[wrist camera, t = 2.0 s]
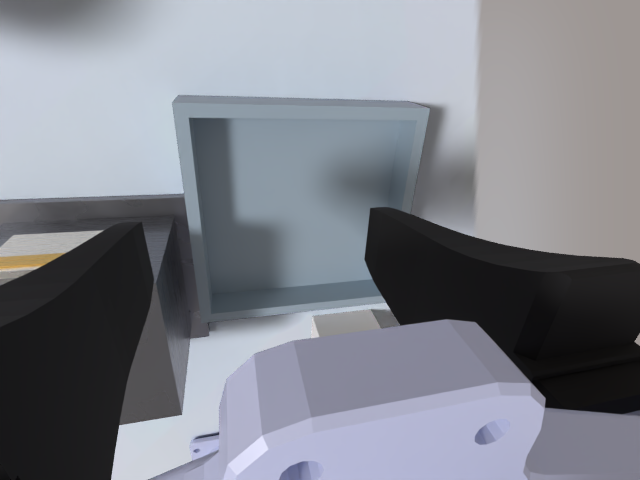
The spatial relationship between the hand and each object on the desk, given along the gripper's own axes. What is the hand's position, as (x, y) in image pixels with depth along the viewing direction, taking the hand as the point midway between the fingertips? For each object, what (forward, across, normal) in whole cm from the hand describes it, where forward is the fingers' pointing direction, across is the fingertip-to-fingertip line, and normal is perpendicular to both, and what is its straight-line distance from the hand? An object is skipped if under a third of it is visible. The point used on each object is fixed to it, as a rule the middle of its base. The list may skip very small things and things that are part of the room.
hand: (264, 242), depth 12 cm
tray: (+10, -3, +3) cm, 10 cm away
